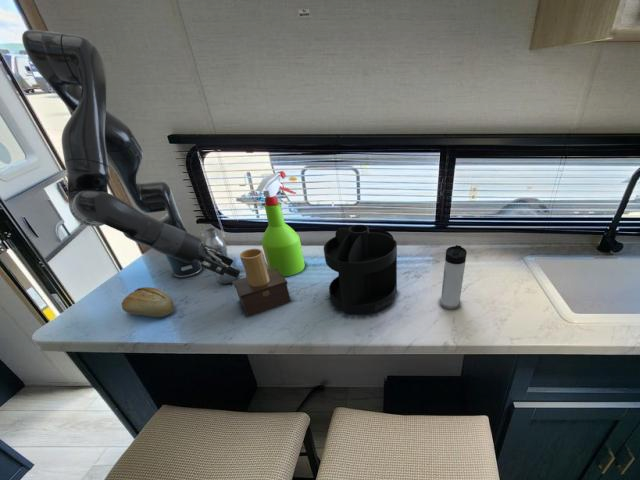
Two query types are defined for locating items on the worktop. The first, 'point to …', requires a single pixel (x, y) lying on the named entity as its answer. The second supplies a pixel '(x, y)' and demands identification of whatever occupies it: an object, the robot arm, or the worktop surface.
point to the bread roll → (148, 303)
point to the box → (262, 293)
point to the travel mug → (453, 276)
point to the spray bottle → (279, 231)
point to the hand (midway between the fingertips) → (235, 268)
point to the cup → (255, 267)
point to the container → (362, 269)
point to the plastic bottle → (220, 245)
